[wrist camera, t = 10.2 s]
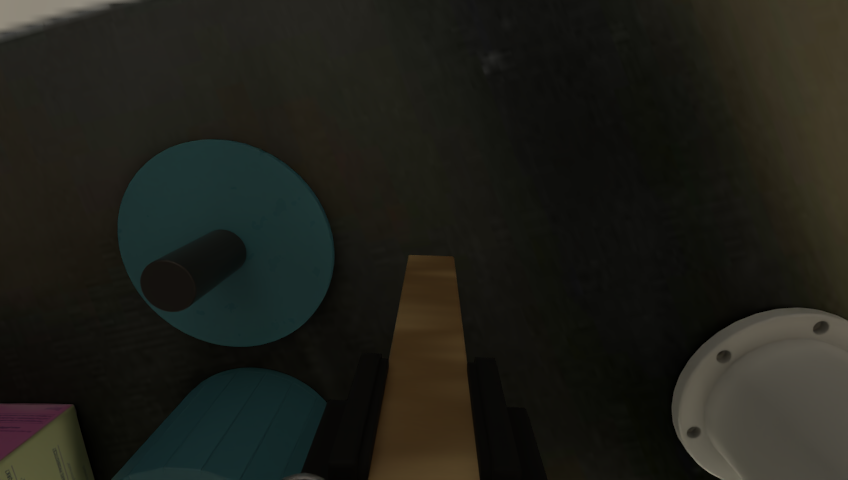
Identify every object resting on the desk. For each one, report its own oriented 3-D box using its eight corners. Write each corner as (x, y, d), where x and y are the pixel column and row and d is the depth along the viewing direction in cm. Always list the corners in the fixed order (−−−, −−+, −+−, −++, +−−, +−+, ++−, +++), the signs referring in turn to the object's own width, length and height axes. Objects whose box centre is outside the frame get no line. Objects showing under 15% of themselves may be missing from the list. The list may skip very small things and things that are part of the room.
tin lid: (378, 230, 25) (358, 268, 19) (264, 373, 28) (214, 447, 22) (195, 90, 24) (106, 81, 17) (94, 259, 27) (-14, 304, 20)
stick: (453, 256, 21) (494, 576, 6) (451, 297, 21) (484, 675, 7) (408, 254, 21) (347, 568, 6) (407, 296, 21) (350, 668, 7)
